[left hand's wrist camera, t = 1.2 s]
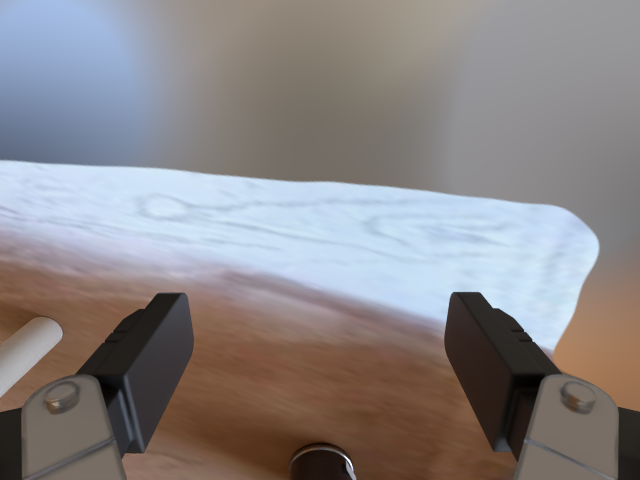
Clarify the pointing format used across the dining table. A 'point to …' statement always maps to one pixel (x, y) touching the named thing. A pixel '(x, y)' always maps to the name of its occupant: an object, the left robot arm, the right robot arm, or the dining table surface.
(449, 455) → the dining table surface
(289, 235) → the dining table surface
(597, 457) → the left robot arm
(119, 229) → the dining table surface
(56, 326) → the white tube
